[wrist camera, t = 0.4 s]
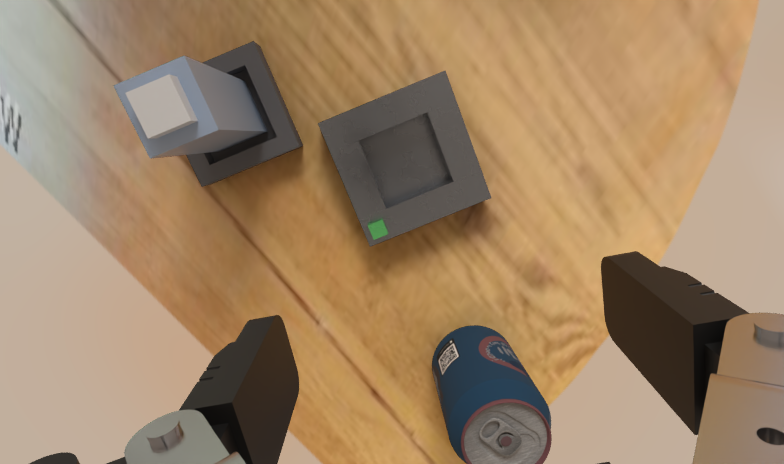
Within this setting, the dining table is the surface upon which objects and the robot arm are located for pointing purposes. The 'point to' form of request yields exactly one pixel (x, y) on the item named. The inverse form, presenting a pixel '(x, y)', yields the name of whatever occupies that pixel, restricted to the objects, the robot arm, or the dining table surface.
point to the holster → (272, 109)
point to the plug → (189, 109)
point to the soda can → (489, 400)
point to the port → (406, 158)
